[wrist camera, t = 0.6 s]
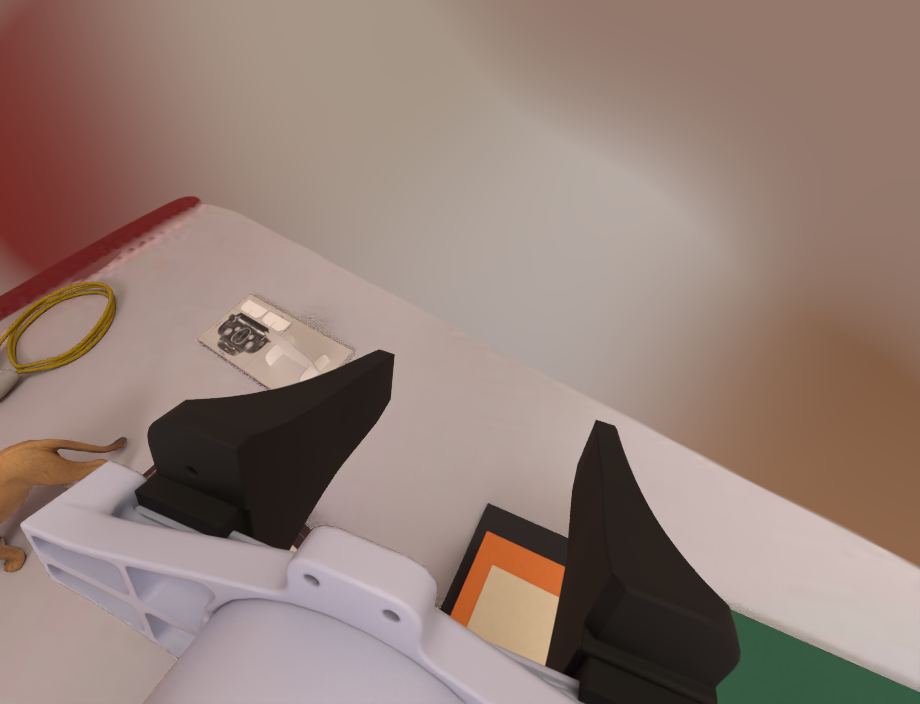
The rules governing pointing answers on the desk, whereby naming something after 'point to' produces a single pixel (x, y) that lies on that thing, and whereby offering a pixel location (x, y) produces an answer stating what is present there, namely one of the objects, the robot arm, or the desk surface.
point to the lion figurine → (39, 478)
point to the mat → (762, 648)
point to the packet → (511, 598)
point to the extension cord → (7, 378)
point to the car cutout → (273, 345)
